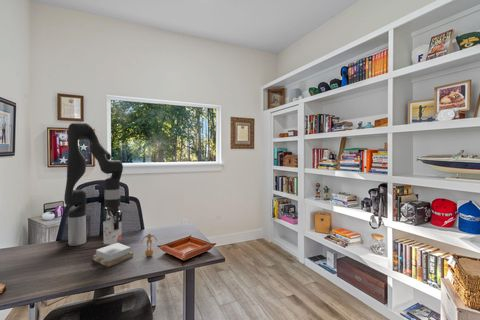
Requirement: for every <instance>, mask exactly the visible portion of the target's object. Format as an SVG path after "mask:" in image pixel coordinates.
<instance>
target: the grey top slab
mask: <svg viewBox="0 0 480 320" xmlns="http://www.w3.org/2000/svg"><path fill="white" fill-rule="evenodd" d="M130 251H131V246H128V245H125V244H122V243H120V242H115V243H113V244H108V245H107V246H104V247H100V248H98V249H95V255H96V256H99V257H101V258H103V259H106V260H108V261H111V260H113V259H116V258H118V257H121V256H123V255H126V254H128V253H130Z"/></svg>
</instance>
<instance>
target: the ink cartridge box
mask: <svg viewBox="0 0 480 320" xmlns="http://www.w3.org/2000/svg"><path fill="white" fill-rule="evenodd" d="M114 217H116V216H114ZM119 220H120V218H119ZM122 222H123V221H121V222H119V229H118V230H114V219H113V216H111V217H110V220H107V221H106V220H105V221H103V222H102V226H103V228H102V231H103V237H102V238H103V244H104V245H112V244H115V243H118V242H119V241H121V240H122V239H123V233H122V232H123V229H122V228H123V227H122V225H123V224H122Z"/></svg>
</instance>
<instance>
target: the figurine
mask: <svg viewBox="0 0 480 320" xmlns="http://www.w3.org/2000/svg"><path fill="white" fill-rule="evenodd" d="M156 237H157V236H155V235H153V234H151V233H148V234H146V235H145V236H143V237H142V239H141V242H140V244H142V243H143V241H144V239H145V238H147V239H146V246H147V248H146V250H145V256H147V257H151V256H152V255H153V254H154V251H153V250H154V249H152V241H153V240H152V238H154V240H155V242H156V243H157V242H158V239H157V238H156ZM149 244H150V245H149Z"/></svg>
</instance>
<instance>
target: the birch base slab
mask: <svg viewBox="0 0 480 320" xmlns="http://www.w3.org/2000/svg"><path fill="white" fill-rule="evenodd" d="M133 257H134V252H133V251H131V250H130V253H128V254H126V255H123V256H121V257H118V258H116V259H113V260H111V261H108V260H106V259H103V258H101V257H99V256H96V254H94V255H92V261H94V262H97V263H99V264H101V265H102V266H106V267H110V266H114V265H116V264H119V263H121V262H123V261H125V260H128V259H131V258H133Z"/></svg>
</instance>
